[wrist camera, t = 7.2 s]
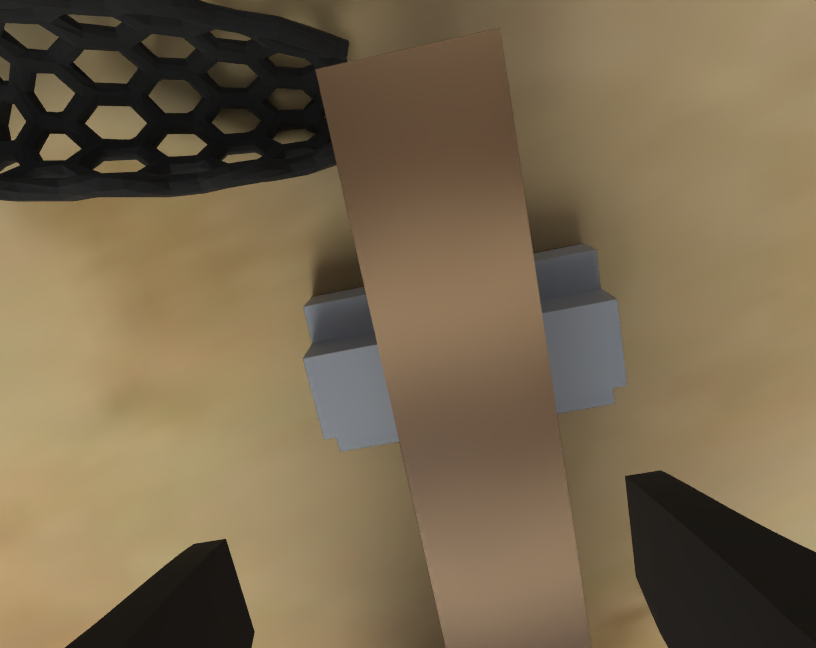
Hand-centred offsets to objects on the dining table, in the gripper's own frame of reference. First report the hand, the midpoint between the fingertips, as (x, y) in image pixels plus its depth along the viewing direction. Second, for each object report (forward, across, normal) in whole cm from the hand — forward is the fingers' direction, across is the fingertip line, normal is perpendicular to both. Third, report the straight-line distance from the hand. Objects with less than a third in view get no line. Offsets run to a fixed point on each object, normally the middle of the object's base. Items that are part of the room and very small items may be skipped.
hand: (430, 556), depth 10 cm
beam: (+7, -1, -1) cm, 7 cm away
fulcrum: (+10, -1, -1) cm, 10 cm away
